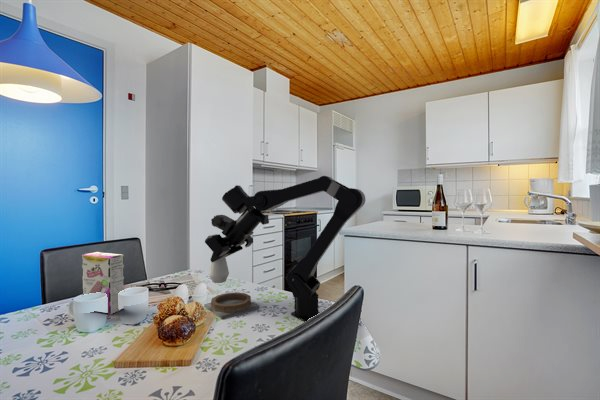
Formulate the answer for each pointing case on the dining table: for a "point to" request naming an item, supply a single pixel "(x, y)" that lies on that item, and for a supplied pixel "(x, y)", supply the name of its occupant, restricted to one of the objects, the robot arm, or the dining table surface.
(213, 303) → the stand
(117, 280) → the candy bar box
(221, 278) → the salt shaker
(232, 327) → the dining table surface
